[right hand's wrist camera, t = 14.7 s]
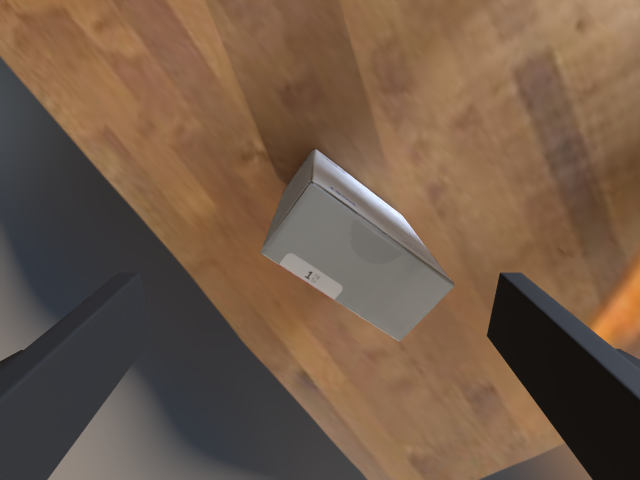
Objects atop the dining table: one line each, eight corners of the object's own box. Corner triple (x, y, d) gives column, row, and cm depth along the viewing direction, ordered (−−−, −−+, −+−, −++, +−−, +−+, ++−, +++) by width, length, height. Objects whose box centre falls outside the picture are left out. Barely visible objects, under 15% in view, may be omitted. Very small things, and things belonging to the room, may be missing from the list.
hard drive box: (280, 193, 46) (254, 250, 28) (314, 146, 44) (310, 174, 26) (369, 256, 50) (399, 344, 31) (405, 215, 48) (459, 284, 29)
